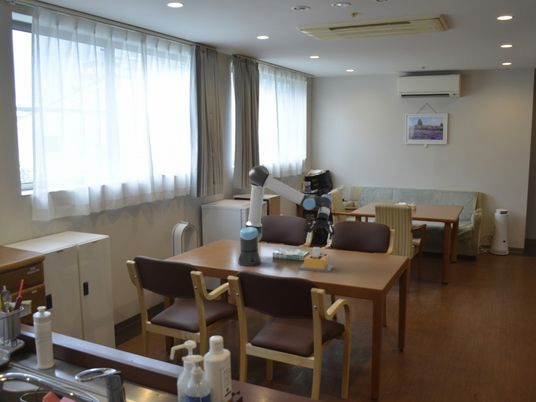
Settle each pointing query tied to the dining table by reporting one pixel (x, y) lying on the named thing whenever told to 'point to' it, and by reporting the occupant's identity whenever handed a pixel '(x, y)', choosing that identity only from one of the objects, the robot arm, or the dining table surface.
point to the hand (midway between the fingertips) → (317, 242)
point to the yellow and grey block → (316, 264)
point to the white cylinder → (316, 252)
